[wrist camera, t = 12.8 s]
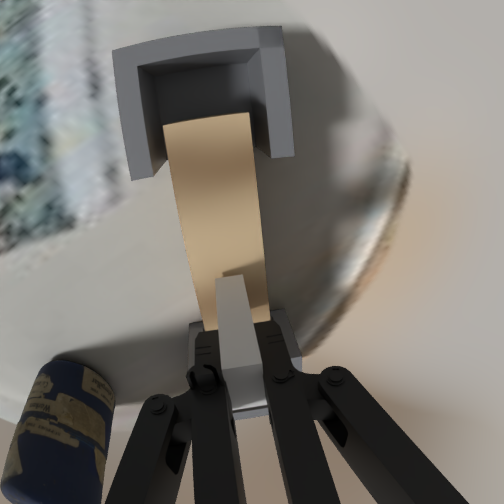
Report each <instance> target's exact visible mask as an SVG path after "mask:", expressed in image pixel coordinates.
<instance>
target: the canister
mask: <svg viewBox="0 0 504 504" xmlns="http://www.w3.org/2000/svg"><path fill="white" fill-rule="evenodd" d="M114 409H115V396H114V393H113V391H112V389H111V388H110V386H109V385H108V383H107V382H106V381H105V380H104V379H103V378H102V377H101V376H100V375H98V374H97V373H95V372H94V371H92V370H91V369H89V368H87V367H85V366H82V365H80V364H77V363H74V362H70V361H62V360H59V361H52V362H49V363H47V364H45V365H44V366H43V367H42V368H41V369H40V371H39V373H38V375H37V377H36V379H35V382H34V384H33V387H32V389H31V392H30V394H29V397H28V399H27V402H26V405H25V407H24V410H23V413H22V415H21V418H20V421H19V422H18V424H17V427H16V430H15V433H14V436H13V439H12V443H11V445H10V449H9V452H8V455H7V459H6V463H5V467H4V471H3V475H2V479H1V485H0V487H1V491H2V493H3V495H4V496H5V497H6V499H8V500H9V501H10V502H11V503H12V504H101V499H102V488H103V481H104V471H105V464H106V460H107V455H108V454H107V453H108V448H109V442H110V435H111V427H112V420H113V414H114Z"/></svg>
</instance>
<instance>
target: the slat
mask: <svg viewBox="0 0 504 504" xmlns="http://www.w3.org/2000/svg"><path fill="white" fill-rule="evenodd" d="M163 130H164V136H165V142H166V149H167V155H168V160H169V166H170V172H171V178H172V183H173V188H174V194H175V199H176V204H177V209H178V214H179V219H180V224H181V229H182V234H183V239H184V243H185V248H186V253H187V257H188V262H189V266H190V270H191V275H192V279H193V283H194V288H195V292H196V296H197V300H198V304H199V308H200V312H201V316H202V320H203V324H204V328H205V331H210V330H217V329H218V318H217V304H216V288H215V278H222V277H228V276H235V275H241V274H243V278H244V283H245V288H246V292H247V297H248V301H249V306H250V310H251V315H252V320H253V323H257V322H263V321H269V320H270V311H269V300H268V290H267V280H266V269H265V259H264V249H263V239H262V229H261V220H260V210H259V200H258V191H257V181H256V172H255V163H254V154H253V145H252V135H251V126H250V118H249V112H234V113H226V114H219V115H212V116H205V117H199V118H193V119H187V120H181V121H176V122H172V123H169V124H166V125H163Z"/></svg>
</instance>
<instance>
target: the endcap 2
mask: <svg viewBox="0 0 504 504" xmlns="http://www.w3.org/2000/svg"><path fill="white" fill-rule="evenodd" d="M270 320H274V321H275V322H276V323H277V324H278V325H280V328H281V331H282V334H283V337H284V340H285V343H286V346H287V349H288V352H289V355H290V358H291V361H292V364H293V366H294V367H295V368H296V369H297V370H299V371H300V372H302V355H301V352H300V350H299V347H298V344H297V341H296V339H295V336H294V333H293V331H292V328H291V325H290V322H289V320H288V317H287V314H286V312H285V309H280V310H274V311H270ZM203 331H205V328H204V324H203V322H197V323H190V324H189V339H188V370H189V369H190V368H191V367H192V366H194V360H195V338H196V337H197V335H198V333H199V332H203ZM232 412H233V417H234V420H240V419H247V418H253V417H259V416H265V415H269V412H268V406H267V405H262V406H256V407H250V408H244V409H237V410H232Z"/></svg>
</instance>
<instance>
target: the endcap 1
mask: <svg viewBox="0 0 504 504" xmlns="http://www.w3.org/2000/svg"><path fill="white" fill-rule="evenodd" d="M112 57H113V67H114V76H115V84H116V92H117V100H118V107H119V114H120V121H121V127H122V133H123V139H124V145H125V150H126V156H127V161H128V166H129V171H130V176H131V181H133V180H138V179H143V178H148V177H153V176H154V175H155V174H156V173H157V172H158V170H159V169H160V168H161V167H162V165H163V164H164V163H165V162H166V160H168V155H167V149H166V142H165V136H164V130H163V125H166V124H169V123H172V122H176V121H181V120H187V119H193V118H199V117H205V116H212V115H219V114H226V113H234V112H249V118H250V126H251V135H252V145H253V147H258V148H259V149H260V150H261V151H263V152H264V153H265V154H267V155H268V156H269V157H270V158H281V157H291V156H295V154H294V141H293V129H292V118H291V107H290V96H289V86H288V77H287V68H286V59H285V50H284V42H283V34H282V26H259V27H242V28H230V29H220V30H211V31H203V32H196V33H189V34H183V35H177V36H172V37H167V38H162V39H157V40H152V41H148V42H143V43H139V44H135V45H131V46H127V47H123V48H120V49H116V50H113V51H112Z"/></svg>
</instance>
